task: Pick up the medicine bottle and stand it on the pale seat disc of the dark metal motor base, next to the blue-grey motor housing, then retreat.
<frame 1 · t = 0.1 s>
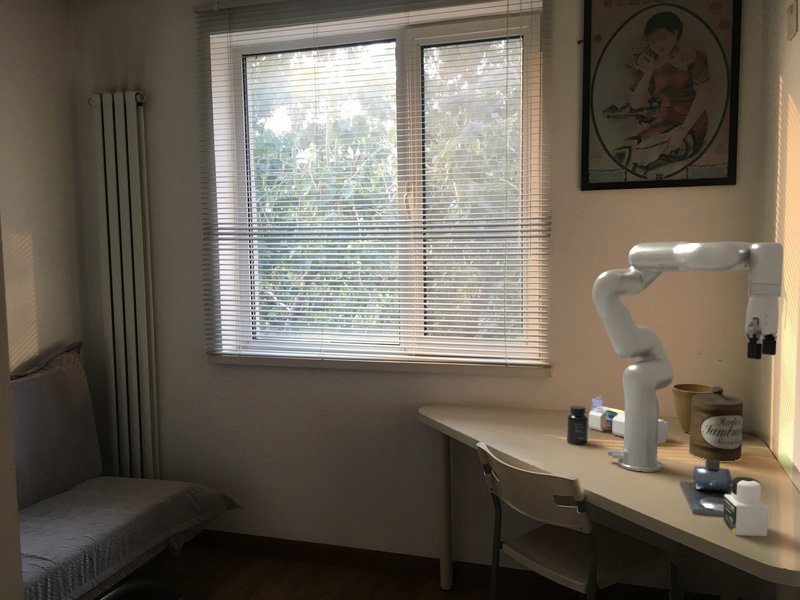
hand: (761, 356, 173), 37 cm above the table, tool pointing down, fingers open, 9 cm apart
supplement bottle: (577, 443, 224), on the table
motor base: (715, 501, 173), on the table
wooden container: (714, 455, 211), on the table
plant pot: (692, 432, 238), on the table
diorama: (627, 436, 234), on the table
medicine bottle: (744, 530, 156), on the table
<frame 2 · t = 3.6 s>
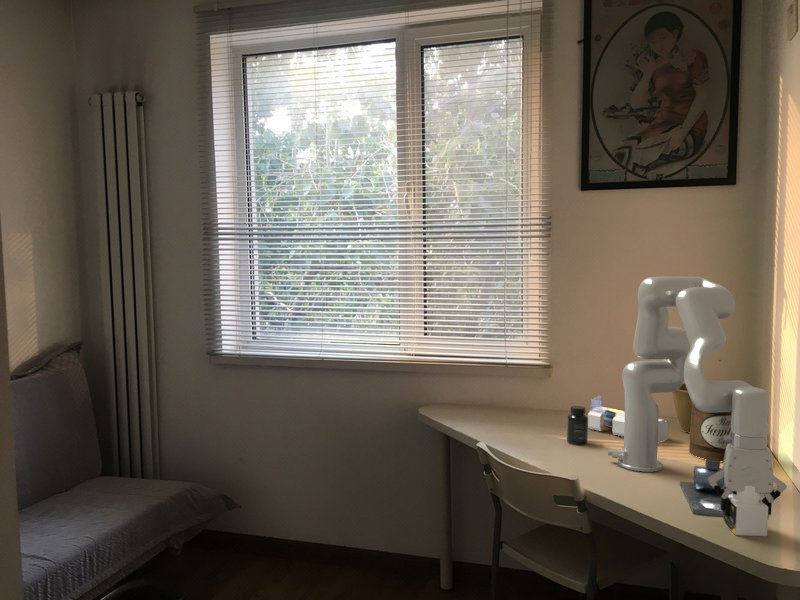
hand: (745, 515, 155), 3 cm above the table, tool pointing down, fingers closed on medicine bottle, 7 cm apart
medicine bottle: (744, 530, 155), on the table, touching gripper
everything else where it was.
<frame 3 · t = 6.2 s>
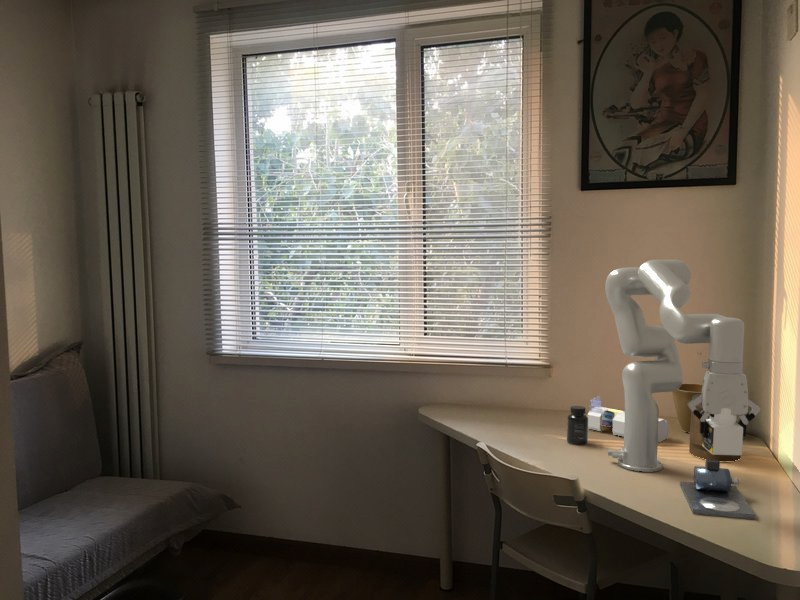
hand: (722, 437, 166), 18 cm above the table, tool pointing down, fingers closed on medicine bottle, 7 cm apart
medicine bottle: (721, 451, 167), point 15 cm above the table, touching gripper
everything else where it was.
when the fingers open (6 cm above the table, at t = 8.9 s): medicine bottle drops 1 cm, resting on motor base.
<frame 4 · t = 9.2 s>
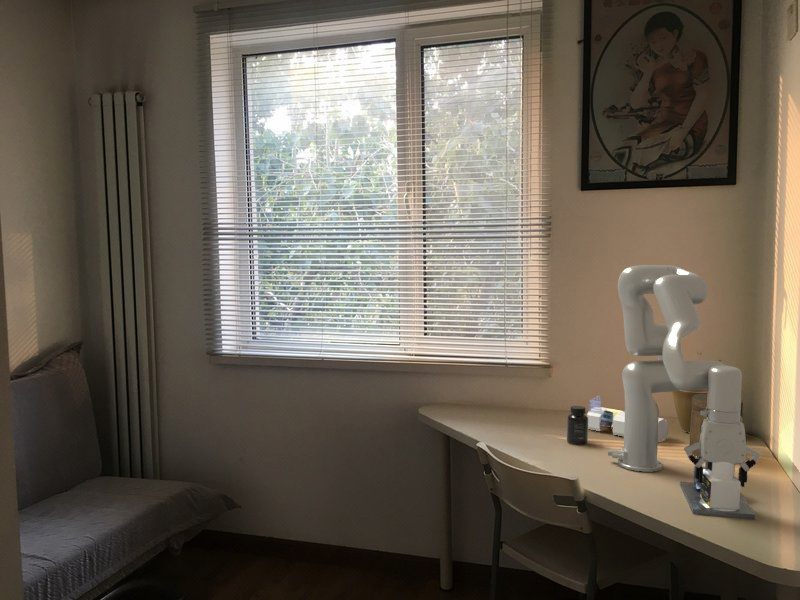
hand: (720, 483, 167), 7 cm above the table, tool pointing down, fingers open, 9 cm apart
medicine bottle: (719, 503, 168), point 1 cm above the table, touching motor base
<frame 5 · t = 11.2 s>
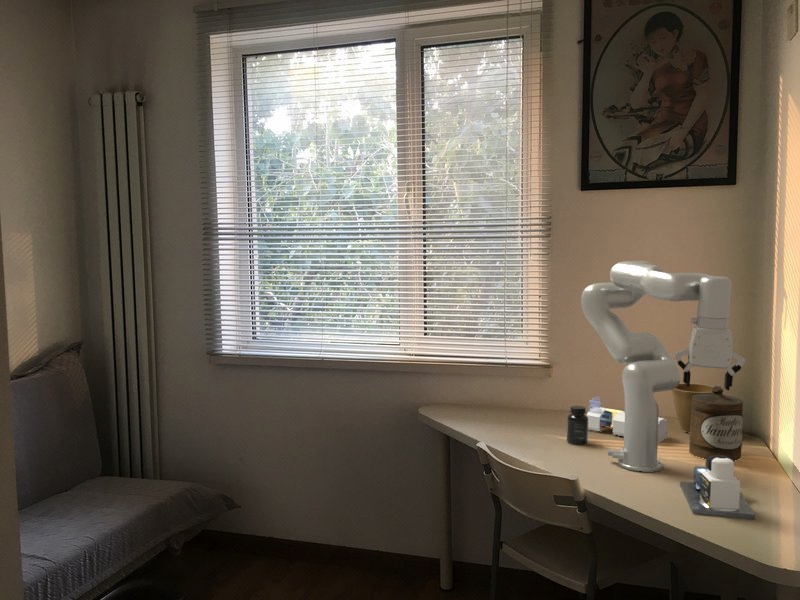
hand: (706, 387, 177), 28 cm above the table, tool pointing down, fingers open, 9 cm apart
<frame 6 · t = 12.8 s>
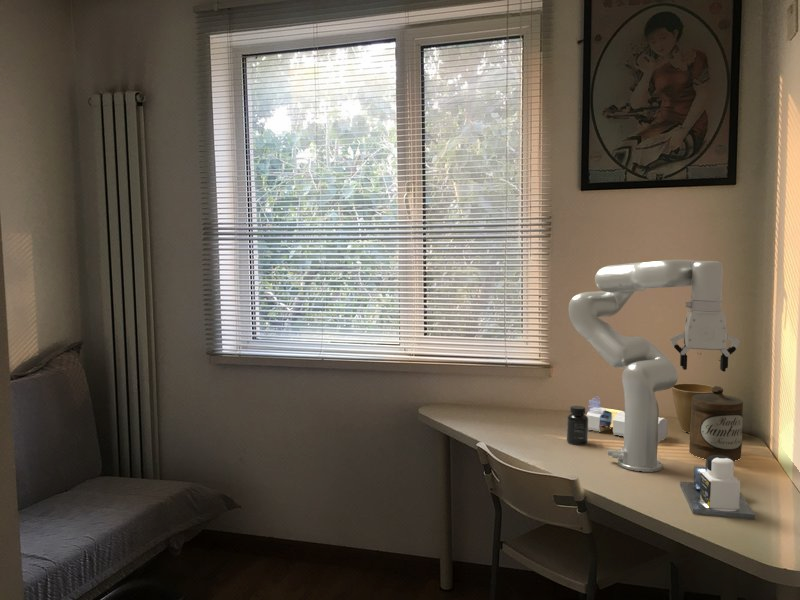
hand: (703, 369, 181), 32 cm above the table, tool pointing down, fingers open, 9 cm apart
at the end: medicine bottle inside the target area on the motor base (0.2 cm from its centre), point 1.0 cm above the motor base's base; medicine bottle tilted 0°; the gripper is holding nothing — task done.
